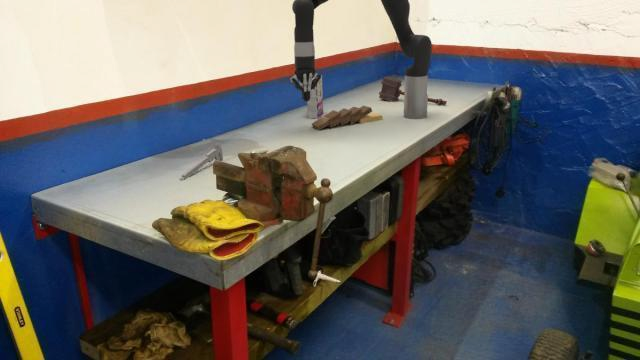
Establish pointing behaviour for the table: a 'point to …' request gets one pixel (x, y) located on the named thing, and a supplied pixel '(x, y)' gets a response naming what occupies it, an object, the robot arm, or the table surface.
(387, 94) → the hammer
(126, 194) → the table surface
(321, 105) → the candy bar box
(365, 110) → the domino
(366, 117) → the domino
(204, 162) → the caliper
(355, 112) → the domino
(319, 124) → the domino
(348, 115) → the domino
